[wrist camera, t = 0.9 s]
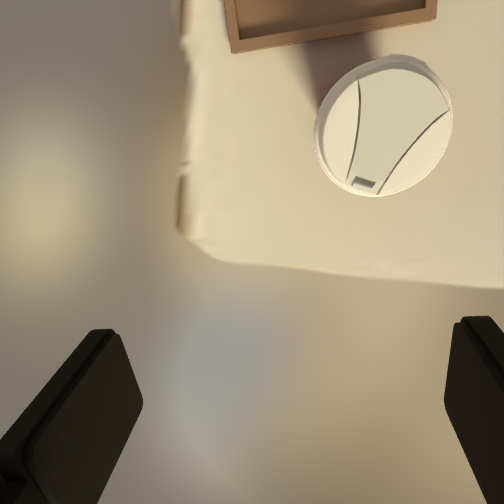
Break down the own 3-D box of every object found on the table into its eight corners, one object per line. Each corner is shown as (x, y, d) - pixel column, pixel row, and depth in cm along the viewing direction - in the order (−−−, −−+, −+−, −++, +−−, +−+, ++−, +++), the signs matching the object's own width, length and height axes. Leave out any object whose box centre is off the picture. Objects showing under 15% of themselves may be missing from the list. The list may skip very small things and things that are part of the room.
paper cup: (374, 166, 34) (417, 219, 21) (297, 141, 34) (295, 180, 21) (414, 78, 30) (494, 80, 18) (328, 49, 30) (347, 32, 17)
